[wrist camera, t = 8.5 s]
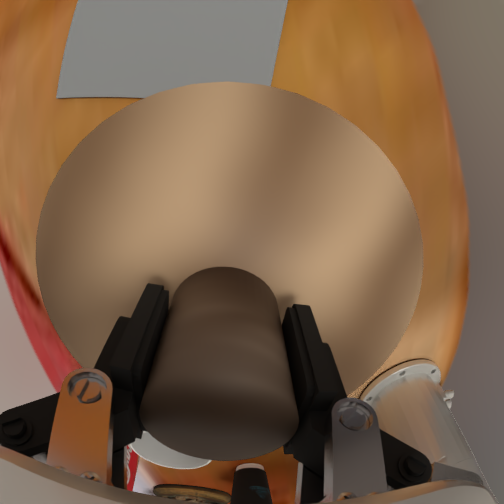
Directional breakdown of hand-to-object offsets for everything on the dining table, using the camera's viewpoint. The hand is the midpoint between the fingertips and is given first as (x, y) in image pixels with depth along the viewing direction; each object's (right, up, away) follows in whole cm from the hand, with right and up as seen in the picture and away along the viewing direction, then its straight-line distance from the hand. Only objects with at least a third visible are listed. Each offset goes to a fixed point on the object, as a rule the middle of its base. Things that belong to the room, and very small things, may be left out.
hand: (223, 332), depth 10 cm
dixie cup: (+1, -35, +33) cm, 48 cm away
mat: (-5, +23, +7) cm, 24 cm away
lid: (0, +1, +2) cm, 2 cm away
